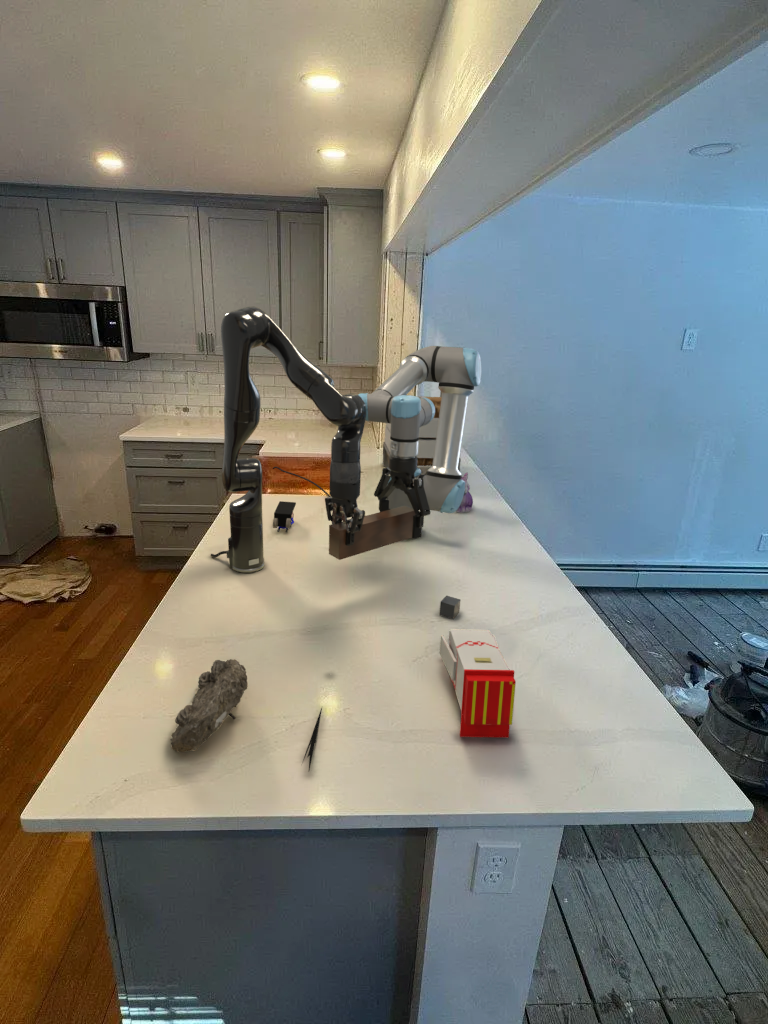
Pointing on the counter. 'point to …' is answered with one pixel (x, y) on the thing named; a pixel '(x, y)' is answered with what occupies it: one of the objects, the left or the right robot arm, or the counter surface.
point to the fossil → (210, 704)
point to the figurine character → (284, 515)
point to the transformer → (420, 439)
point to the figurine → (466, 497)
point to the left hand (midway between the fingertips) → (343, 541)
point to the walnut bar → (372, 532)
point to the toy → (479, 682)
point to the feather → (313, 740)
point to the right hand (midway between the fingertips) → (399, 529)
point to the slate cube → (449, 607)
